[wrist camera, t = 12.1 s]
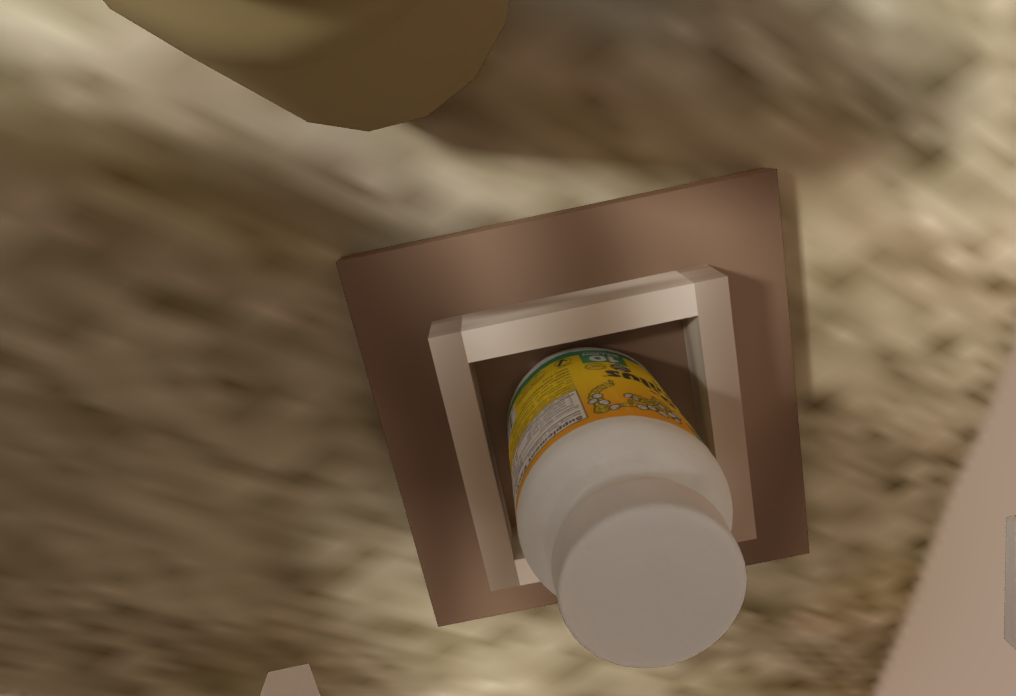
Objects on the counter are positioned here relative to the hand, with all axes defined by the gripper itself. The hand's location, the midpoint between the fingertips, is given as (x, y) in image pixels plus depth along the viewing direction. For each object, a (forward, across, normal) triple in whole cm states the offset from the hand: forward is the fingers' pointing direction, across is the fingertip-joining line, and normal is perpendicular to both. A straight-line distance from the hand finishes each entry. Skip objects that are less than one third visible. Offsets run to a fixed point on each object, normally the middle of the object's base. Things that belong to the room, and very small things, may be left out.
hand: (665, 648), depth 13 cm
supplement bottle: (+11, 0, 0) cm, 11 cm away
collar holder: (+12, 0, 0) cm, 12 cm away
